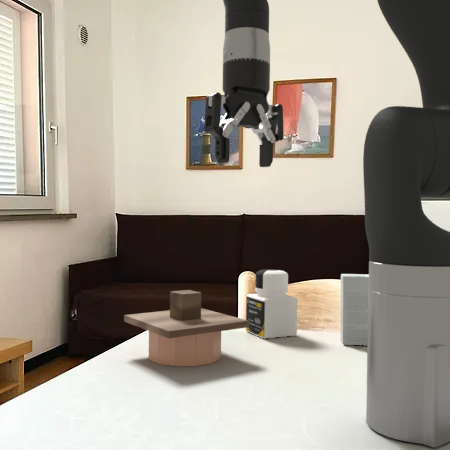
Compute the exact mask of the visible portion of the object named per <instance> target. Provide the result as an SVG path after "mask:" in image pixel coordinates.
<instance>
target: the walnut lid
mask: <svg viewBox="0 0 450 450" xmlns="http://www.w3.org/2000/svg"><path fill="white" fill-rule="evenodd" d="M123 322H125V323H127V324H130V325H131V326H132V325H133V326H135V327H136V328H137V327H138V328H140V329H142V330H146V331H148V332H149V331H150V332H153V333H156V334H158V335H161V336H164V337H166V338H175V337H183V336H190V335H197V334H204V333H211V332H218V331H221V332H224V331H231V330H238V329H240V330H241V329H246V328H247V327H249V321H248V320H246V319H243V318H240V317H238V316H237V317H236V316H232V315H228V314H226V313H223V312H222V313H221V312H218V311H217V312H216V311H214V310H209V309H207V308H206V309H205V308H202V292H201V291H195V290H192V289H185V290H173V291H170V293H169V309H167V310H162V311H161V310H160V311H152V312H151V311H150V312H141V313H133V314H132V313H130V314H124V315H123Z"/></svg>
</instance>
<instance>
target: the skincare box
mask: <svg viewBox="0 0 450 450" xmlns="http://www.w3.org/2000/svg"><path fill="white" fill-rule="evenodd" d="M368 291H369V273H368V274H366V273H365V274H363V273H361V274H360V273H359V274H358V273H341V274H340V342H341V344H342V345H343V344H344V345H343V346H353V345H360V347H363V346H364V347H367V344H368ZM361 345H363V346H361Z"/></svg>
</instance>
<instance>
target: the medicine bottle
mask: <svg viewBox="0 0 450 450" xmlns="http://www.w3.org/2000/svg"><path fill="white" fill-rule="evenodd" d="M254 289H255V290H254V291H255V292H256V293H248V294H247V295H245V296H246V301H245V302H246V303H245V304H246V307H245V308H246V309H245V320H248V321H249V327H247V328H245V331H246V332H247V331H248V332H247V333H249V332H250V333H249V334H251V333H252V334H251V335H253V334H254V336H256V337H258V336H259V337H258V338H260V337H261V339H263V338H264V339H263V340H266V339H265V338H270V339H276V338H275V337H281V338H288V337H287V336H291V337H296V336H297V335H298V298H297V297H295V296H291V295H288V294H287V293H288V292H289V273H288V272H286V271H285V270H282V269H270V268H269V269H260V270H258V271H257V272H256V273H255V288H254Z"/></svg>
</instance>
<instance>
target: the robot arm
mask: <svg viewBox="0 0 450 450" xmlns="http://www.w3.org/2000/svg"><path fill="white" fill-rule="evenodd" d="M222 1H223V5H224V13H225V14H224V15H225V17H224V18H225V19H224V40H223V46H222V47H223V49H222V92H223V93H224V94H223V95H222V94H221V92H214V93H211V94H208V95H207V96H206V98H205V110H204V112H205V113H204V125H203V126H204V128H203V131H204V133H205V134H209V135H210V136H212V137H214V140H215V144H214V145H215V146H214V147H215V148H214V149H215V150H214V151H215V153H214V155H215V157H214V158H215V160H217V163H218V164H228V163H229V162H230V138H228V137H229V135H231V133H232V132H233V130H234V129H235V128H239V127H240V128H241V127H243V128H244V129H251V131H252V133H253V134H255V135H256V136H257V138H258V140H259V141H260V143H261V144H259V159H258V161H259V162H258V163H259V164H258V165H259V167H260V168H269V167H271V166H272V164H273V161H274V144H275V143H277V142H279V141H284V137H285V136H284V134H285V133H284V106H283V104H281V103H277V104H269V102H268V95H269V92H270V89H271V88H270V87H271V85H270V84H271V45H270V31H269V30H270V4H269V2H268V0H222ZM376 1H377V4H378V6H379V9H380V11H381V14H382V15H383V17H384V19H385V21H386V23H387V25H388V27H389V28H390V29H391V31H392V33H393V35H394V36H395V38H396V39H397V41H398V42H399V44H400V45H401V46H402V49H403V50H404V52H405V54H406V55H407V57H408V58H409V60H410V62H411V64H412V66H413V68H414V71H415V74H416V76H417V80H418V83H419V84H418V85H419V88H420V94H421V95H420V96H421V103H422V107H421V106H420V107H419V106H418V107H417V106H405V105H404V106H403V105H394V106H393V105H392V106H387V107H385V108H383V109H381V110H379V111H378V112H377V113H376V114H375V115H374V117H373V118H372V119H371V121H370V123H369V125H368V128H367V131H366V133H365V138H364V144H363V154H362V155H363V158H362V161H363V164H362V167H363V169H362V171H363V193H364V194H363V195H364V226H365V227H364V228H365V234H366V240H367V243H368V249H369V250H368V251H369V254H368V259H369V262H368V274H369V291H368V344H367V346H366V347H367V349H366V350H367V351H366V352H367V353H366V354H367V355H366V357H367V358H366V412H365V413H366V415H365V419H366V420H365V421H366V424H367V425H368V427H369V428H370V429H372V430H373V431H375V432H376V433H378V434H380V435H382V436H385V437H387V438H391V439H394V440H398V441H403V442H408V443H415V444H421V445H426V446H428V447H430V448H438V447H440V446H443V445H445V444H447V443H450V231H448V230H446V229H445V228H442V227H440V226H438V225H437V224H436V223H434V222H433V220H431V219H429V218H428V216H427V215H426V214H425V212H424V210H423V204H422V198H430V199H431V198H433V199H434V198H438V199H439V198H440V199H441V198H443V199H444V198H449V199H450V0H376ZM222 108H223V109H224V111H225V114H224V116H223V117H222V119H221V114H222V113H221V111H222Z"/></svg>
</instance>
